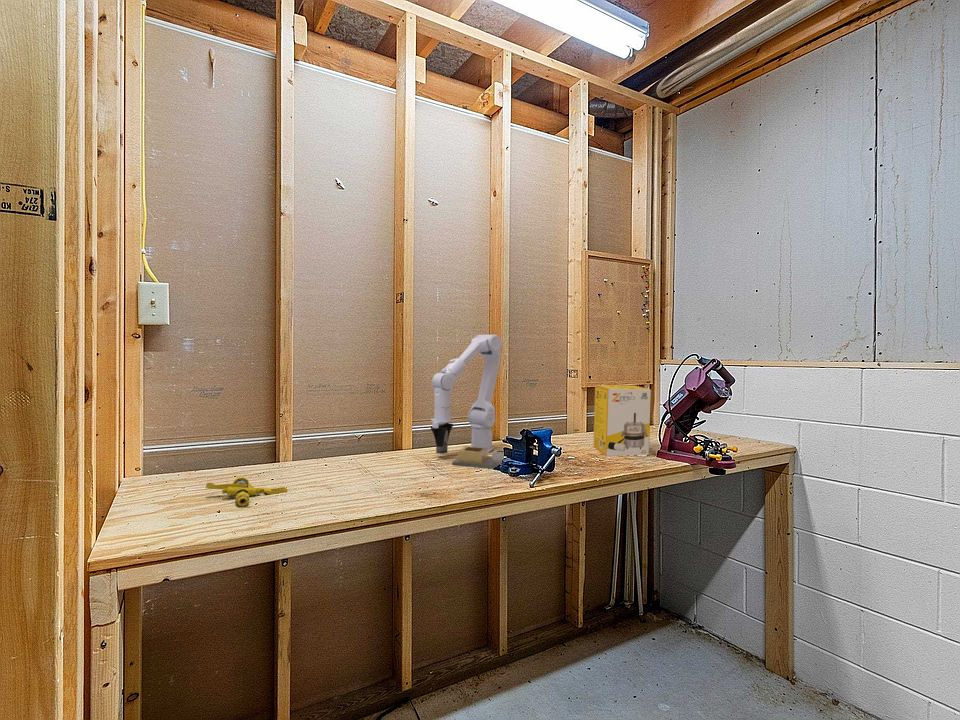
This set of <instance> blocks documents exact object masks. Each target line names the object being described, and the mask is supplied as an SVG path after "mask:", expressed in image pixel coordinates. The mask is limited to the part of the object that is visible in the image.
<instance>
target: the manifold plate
mask: <svg viewBox="0 0 960 720" xmlns="http://www.w3.org/2000/svg"><path fill="white" fill-rule="evenodd" d="M488 454H489V453H488V448H483V447H471V445H470V446H468V445H467V446H464V447H461V448H460V449H459V450H458V457H457V458H456V459H455V460H452V466H458V467H472V468H479V469H480V468H482V469H489V470H490V469H491V470H492V469H493V470H495V469H494V468H495V467H496V466H498V465H499V463H501V462H502V460H503V459H504V449H495V450H494V449H493V451H492V456H489V455H488Z"/></svg>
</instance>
